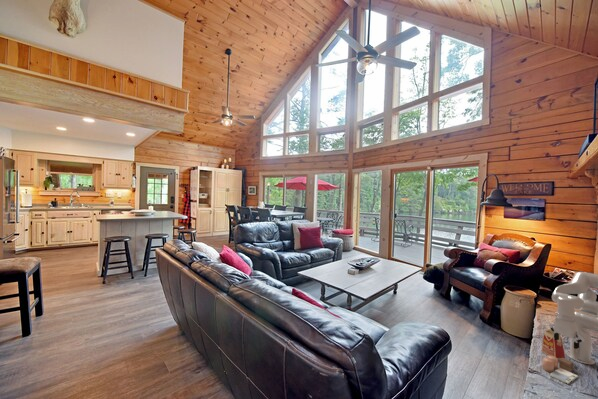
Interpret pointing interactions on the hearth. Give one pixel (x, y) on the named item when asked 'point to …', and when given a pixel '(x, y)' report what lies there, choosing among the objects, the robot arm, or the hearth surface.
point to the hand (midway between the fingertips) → (566, 343)
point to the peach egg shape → (554, 361)
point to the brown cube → (566, 364)
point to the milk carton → (552, 345)
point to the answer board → (563, 375)
